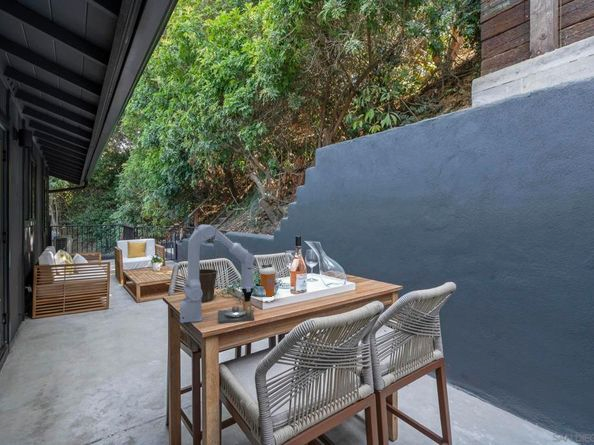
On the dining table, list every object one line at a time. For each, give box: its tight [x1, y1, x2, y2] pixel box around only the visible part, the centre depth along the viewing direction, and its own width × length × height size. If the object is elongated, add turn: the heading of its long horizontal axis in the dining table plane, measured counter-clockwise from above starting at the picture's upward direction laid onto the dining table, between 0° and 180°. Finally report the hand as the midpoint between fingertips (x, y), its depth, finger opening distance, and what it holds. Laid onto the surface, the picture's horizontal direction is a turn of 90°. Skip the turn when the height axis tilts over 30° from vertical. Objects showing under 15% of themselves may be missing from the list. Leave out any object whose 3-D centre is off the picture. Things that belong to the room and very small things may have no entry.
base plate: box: [217, 309, 256, 325], centre depth 152 cm, size 16×16×1 cm
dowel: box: [247, 307, 250, 317], centre depth 149 cm, size 2×2×4 cm
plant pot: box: [186, 268, 218, 303], centre depth 182 cm, size 16×16×16 cm
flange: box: [225, 299, 252, 317], centre depth 153 cm, size 14×10×4 cm
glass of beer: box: [259, 263, 277, 297], centre depth 179 cm, size 9×9×20 cm
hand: (247, 302), depth 163 cm, fingers closed
